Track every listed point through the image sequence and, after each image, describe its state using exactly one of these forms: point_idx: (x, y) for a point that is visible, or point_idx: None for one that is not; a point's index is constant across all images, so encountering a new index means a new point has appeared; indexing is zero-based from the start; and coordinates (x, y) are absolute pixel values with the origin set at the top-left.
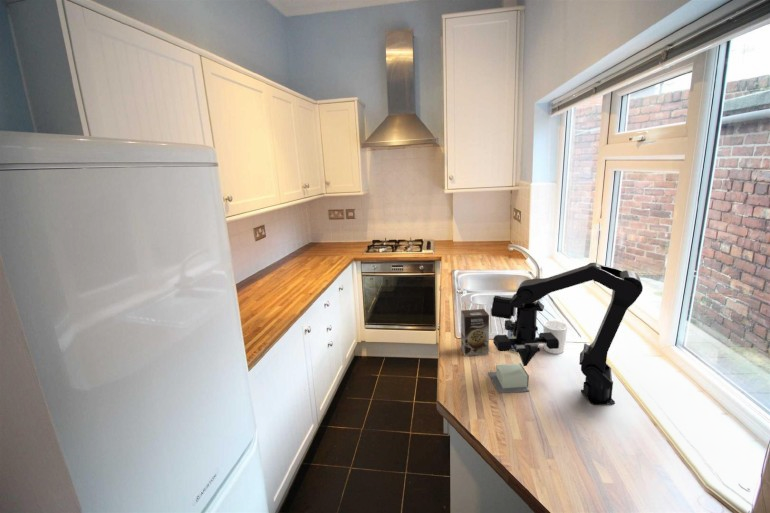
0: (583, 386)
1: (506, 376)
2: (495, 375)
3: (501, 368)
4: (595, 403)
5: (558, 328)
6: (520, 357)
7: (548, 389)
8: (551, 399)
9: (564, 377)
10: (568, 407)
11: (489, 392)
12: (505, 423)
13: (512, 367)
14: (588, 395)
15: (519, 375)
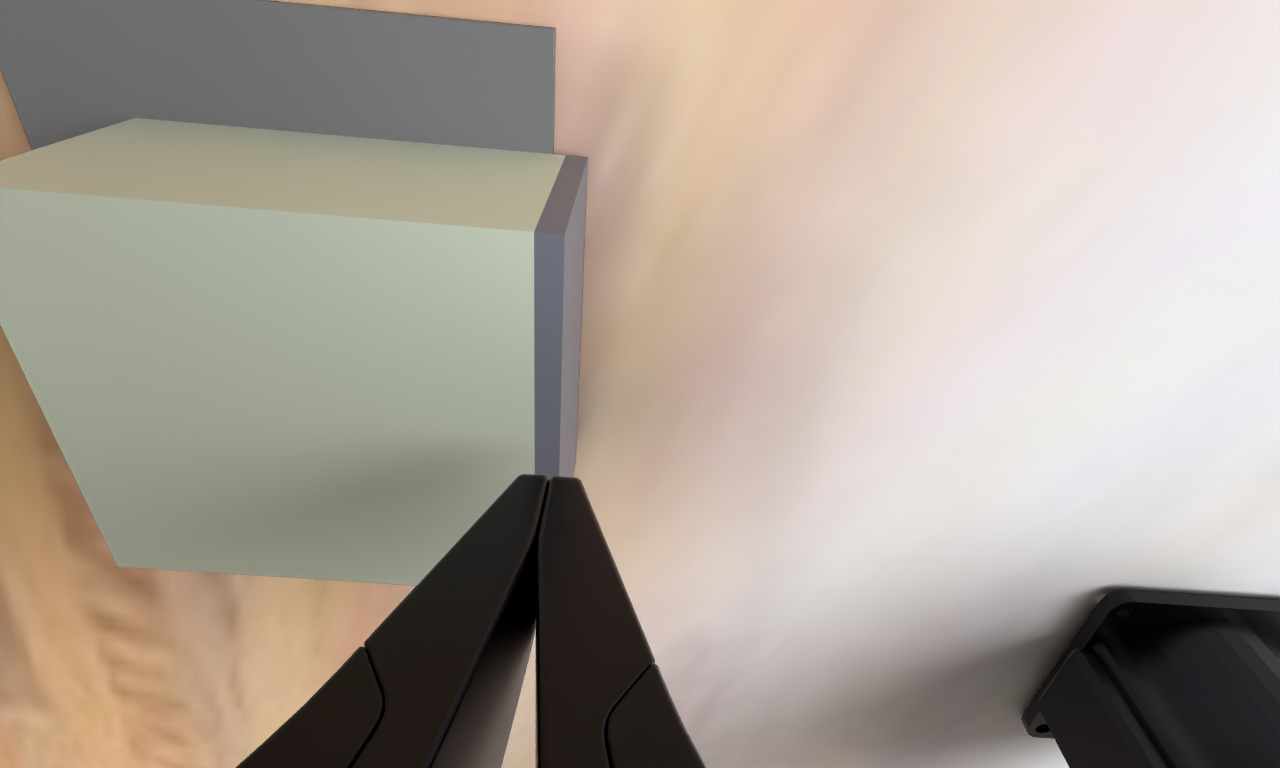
0: (1121, 742)
1: (177, 558)
2: (122, 118)
3: (78, 344)
4: (1048, 736)
5: None
6: (413, 607)
7: (798, 509)
8: (724, 625)
9: (1205, 341)
10: (801, 707)
11: (60, 451)
12: (222, 755)
13: (330, 352)
14: (1060, 747)
15: (405, 570)
